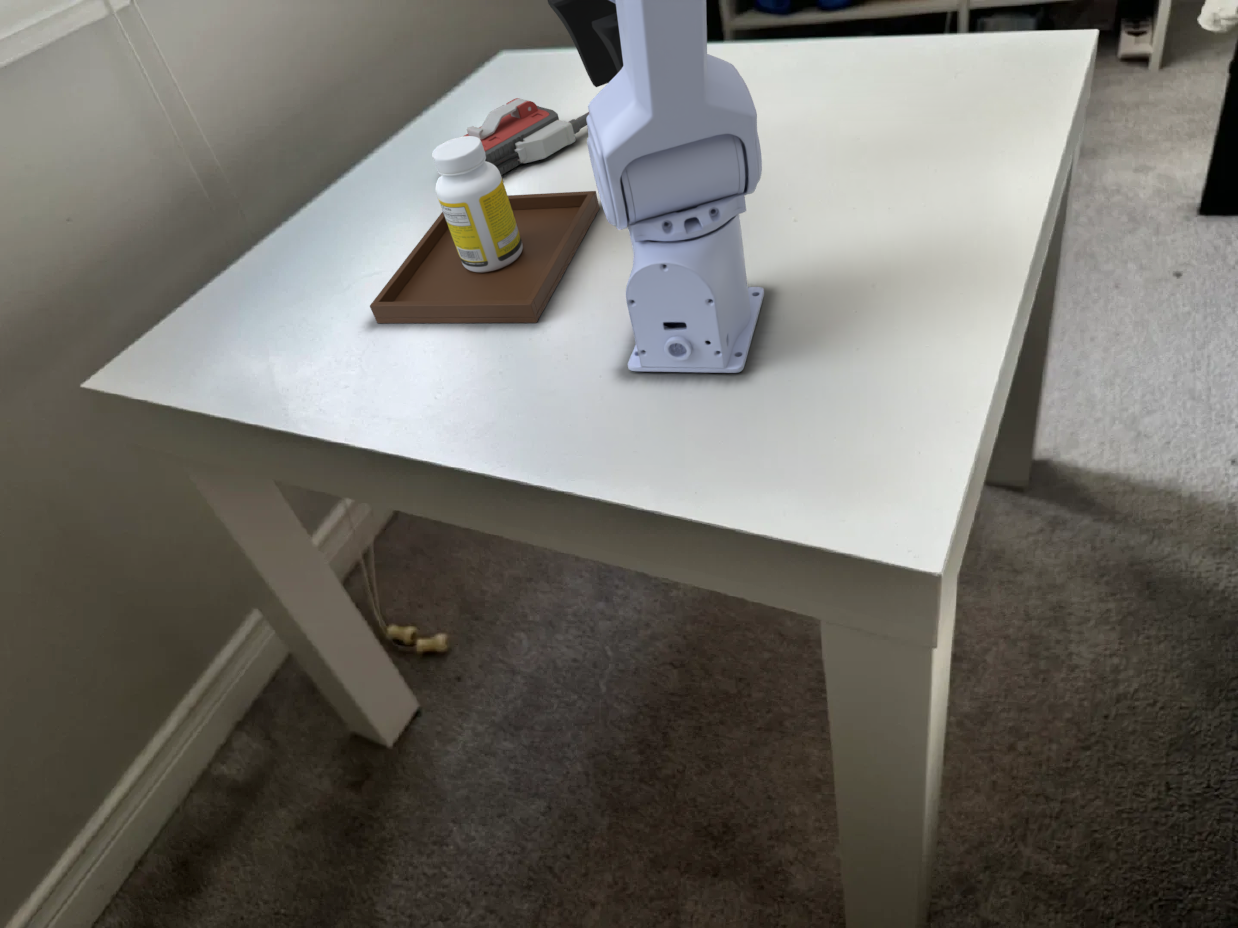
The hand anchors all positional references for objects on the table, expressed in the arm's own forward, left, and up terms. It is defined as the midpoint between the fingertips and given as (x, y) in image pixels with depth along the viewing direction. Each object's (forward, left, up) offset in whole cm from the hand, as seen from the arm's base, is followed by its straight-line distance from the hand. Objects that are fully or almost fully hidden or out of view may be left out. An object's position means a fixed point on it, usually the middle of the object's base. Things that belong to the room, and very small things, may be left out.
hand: (625, 95), depth 70 cm
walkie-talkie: (+15, +16, -11) cm, 24 cm away
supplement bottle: (-7, +12, -10) cm, 17 cm away
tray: (-7, +12, -10) cm, 17 cm away
